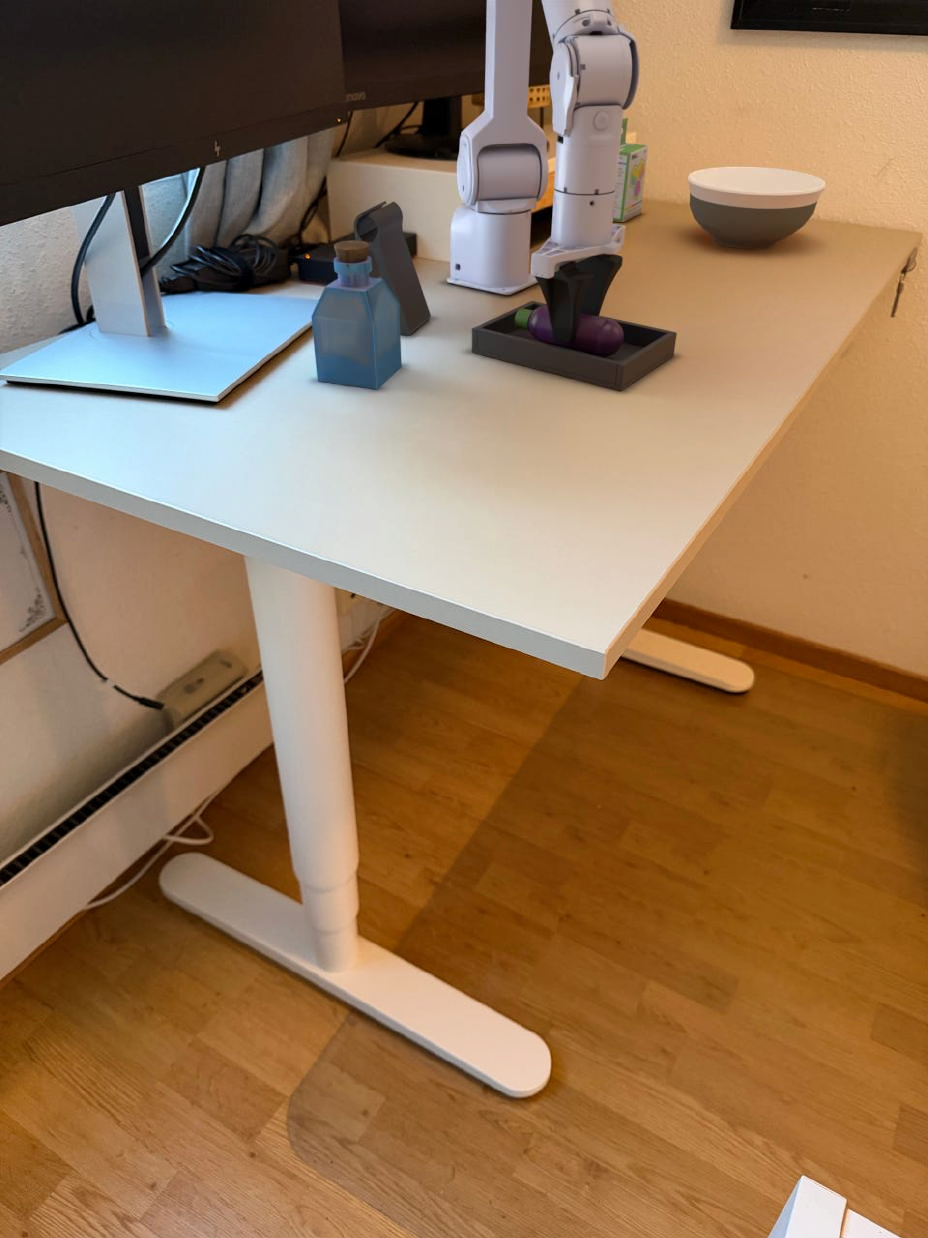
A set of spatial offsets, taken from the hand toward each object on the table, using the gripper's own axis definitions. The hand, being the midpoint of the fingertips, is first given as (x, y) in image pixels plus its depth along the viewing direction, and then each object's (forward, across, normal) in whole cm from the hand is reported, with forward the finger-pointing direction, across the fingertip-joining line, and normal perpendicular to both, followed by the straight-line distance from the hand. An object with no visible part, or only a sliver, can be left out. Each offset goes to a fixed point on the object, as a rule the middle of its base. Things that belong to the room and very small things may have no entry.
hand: (573, 334), depth 91 cm
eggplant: (+1, 0, 0) cm, 1 cm away
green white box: (+2, +57, +25) cm, 62 cm away
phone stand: (+2, -4, +22) cm, 22 cm away
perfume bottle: (+2, -17, +14) cm, 22 cm away
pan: (+2, 0, 0) cm, 2 cm away
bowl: (+2, +54, +3) cm, 55 cm away
